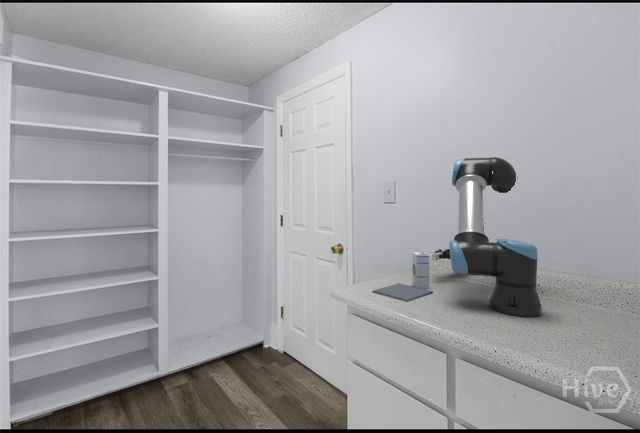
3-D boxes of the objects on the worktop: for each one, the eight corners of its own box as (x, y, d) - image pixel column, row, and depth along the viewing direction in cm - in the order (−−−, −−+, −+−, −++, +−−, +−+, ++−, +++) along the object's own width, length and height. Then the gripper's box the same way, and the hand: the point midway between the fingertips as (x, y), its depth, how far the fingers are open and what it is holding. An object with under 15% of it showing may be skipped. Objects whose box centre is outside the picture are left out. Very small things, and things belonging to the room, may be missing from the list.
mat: (399, 284, 140) (399, 283, 139) (433, 292, 128) (433, 291, 127) (372, 292, 128) (372, 290, 128) (407, 301, 116) (407, 300, 116)
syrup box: (429, 288, 133) (430, 254, 133) (415, 288, 133) (416, 254, 133) (425, 285, 139) (426, 252, 138) (411, 285, 139) (412, 251, 138)
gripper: (471, 261, 153) (447, 268, 138) (445, 257, 163) (420, 263, 148) (472, 245, 153) (447, 250, 137) (446, 242, 163) (420, 247, 147)
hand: (433, 257), depth 142 cm, fingers closed
